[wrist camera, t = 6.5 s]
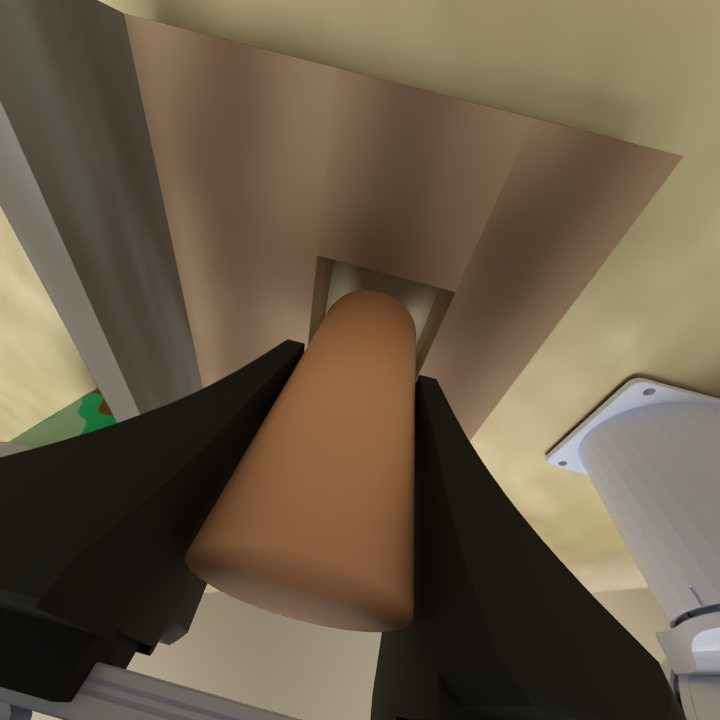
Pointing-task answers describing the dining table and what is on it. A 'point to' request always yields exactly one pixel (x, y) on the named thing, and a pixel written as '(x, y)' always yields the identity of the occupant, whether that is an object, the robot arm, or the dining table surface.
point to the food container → (64, 424)
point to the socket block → (285, 204)
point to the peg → (328, 482)
